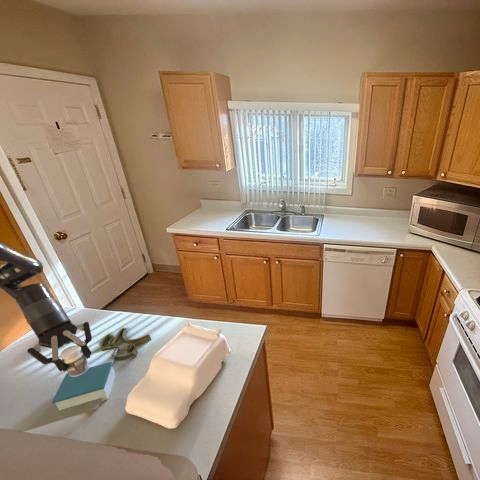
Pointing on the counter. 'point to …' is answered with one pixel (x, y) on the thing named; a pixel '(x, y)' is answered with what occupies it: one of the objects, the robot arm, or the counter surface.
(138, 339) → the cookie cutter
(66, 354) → the pill bottle
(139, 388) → the white toy car
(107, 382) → the teal book
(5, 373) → the counter surface
